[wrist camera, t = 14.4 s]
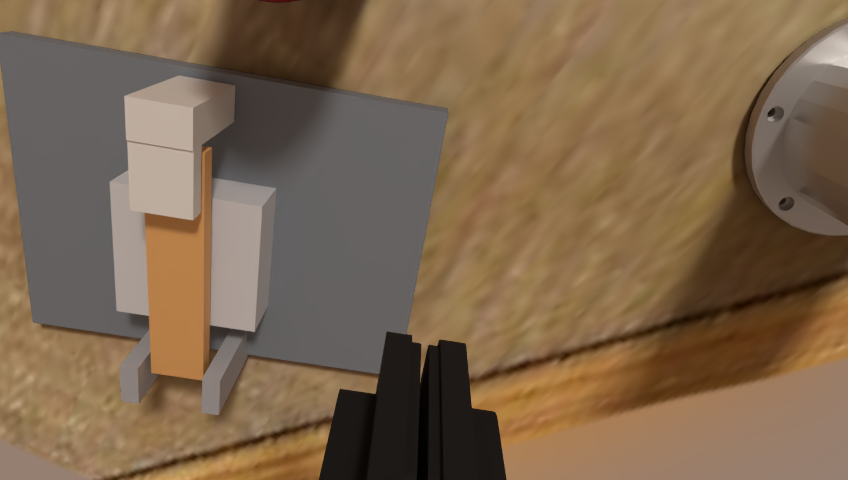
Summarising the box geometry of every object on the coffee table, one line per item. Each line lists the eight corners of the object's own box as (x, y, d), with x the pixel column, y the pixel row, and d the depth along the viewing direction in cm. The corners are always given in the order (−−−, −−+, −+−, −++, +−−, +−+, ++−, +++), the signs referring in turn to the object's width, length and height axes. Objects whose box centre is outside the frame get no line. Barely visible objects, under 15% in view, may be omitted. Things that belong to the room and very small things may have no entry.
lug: (235, 85, 31) (192, 107, 26) (231, 181, 33) (192, 221, 28) (179, 75, 31) (124, 96, 25) (179, 172, 33) (129, 211, 28)
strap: (212, 147, 29) (204, 153, 28) (209, 369, 35) (203, 380, 34) (151, 137, 29) (141, 143, 28) (158, 362, 35) (151, 373, 34)
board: (447, 108, 33) (451, 137, 27) (398, 371, 40) (391, 439, 34) (12, 31, 31) (-87, 43, 25) (44, 319, 39) (-25, 380, 33)
